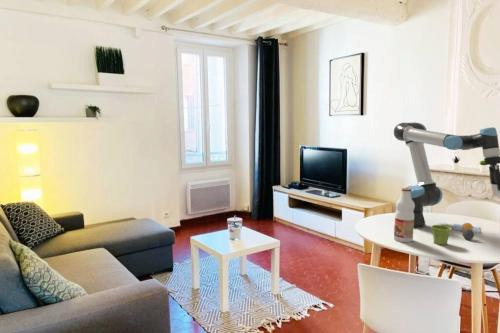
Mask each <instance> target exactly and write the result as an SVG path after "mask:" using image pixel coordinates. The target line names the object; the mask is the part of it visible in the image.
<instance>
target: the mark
mask: <svg viewBox="0 0 500 333" xmlns="http://www.w3.org/2000/svg"><path fill="white" fill-rule="evenodd" d="M452 225H453V230H454V231H460V232H463V230H462V225H463V224H460V223H459V224H458V223H453V224H452ZM472 226H473V225H472ZM477 227H478V226H476V227H474V226H473V230H472V231H473V232H475V233H474V234H482V230H481V228H480V229H479V228H477Z"/></svg>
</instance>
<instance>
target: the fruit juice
mask: <svg viewBox="0 0 500 333" xmlns="http://www.w3.org/2000/svg"><path fill="white" fill-rule="evenodd" d="M400 190H401V191H400V192H401V195H400V197H399V199H398V200H397V201H396V203H395V206H396V211H395V213H394V227H393V228H394V229H393V231H394V232H393V239H394V240H395V241H397V242H399V243H400V242H401V243H412V242H413V240H414V212H413V210H414V208H415V204H414V202H413V200H412V199H411V189H410V188H406V187H402V188H401V189H400Z"/></svg>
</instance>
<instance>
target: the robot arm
mask: <svg viewBox="0 0 500 333" xmlns="http://www.w3.org/2000/svg"><path fill="white" fill-rule="evenodd" d="M393 136H394V137H395V139H397V140H398V141H402V142H405V146H407V148H409V152H410V157H411V160H412V164H413V169H414V174H415V177H416V181H417V182H416V183H417V184H415V185H408V186H405V188H410V189H411V199H412V200H413V202H414V204H415V208H414V210H413V212H414V228H416V229H417V228H420V229H421V228H424V227H426V220H425V217H424V207H431V206H436V205H438V204H440V203H441V201H442V199H443V192H442V189H441V188H440V187H438V186H437V183H436V182H435V181H433V178H432V174H431V170H430V166H429V161H428V157H427V152H426V149H425V145H424V144H427V145H432V146H437V147H441V148H442V147H443V148H446V149H447V150H452V151H456V150H457V151H458V150H461V151H468V150H473V149H477V148H482V156H483V161H484V165H485V166H488V170H489V171H488V172H489V180H490V181H489V182H490V185H491V191H492V192H491V193H492V196H493V197H497V198H500V165H499V164H500V146H499V145H500V144H499V138H498V136H499V135H498V132H497V128H496V127H494V126H493V127H485V128H481V129H479V133H476V134H468V135H455V134H450V133H444V132H438V131H431V130H427V127H426V126H425V125H424V124H422V123H421V122H420V123H419V122H416V121H415V122H401V123H398V124H396V126H394V128H393ZM414 228H413V229H414Z"/></svg>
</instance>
